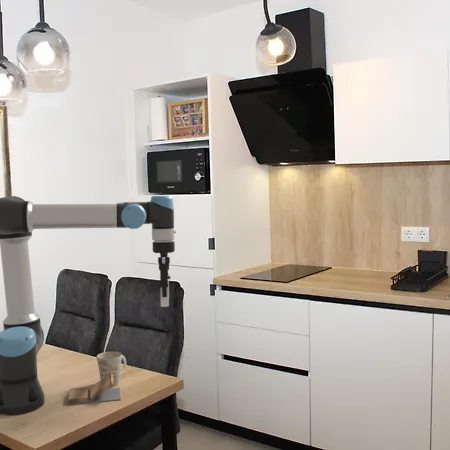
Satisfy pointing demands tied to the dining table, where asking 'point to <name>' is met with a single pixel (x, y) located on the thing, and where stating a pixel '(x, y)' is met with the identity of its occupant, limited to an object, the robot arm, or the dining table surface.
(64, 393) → the dining table surface
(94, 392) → the plank
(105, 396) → the underlay
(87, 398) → the laid plank
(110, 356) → the mug
